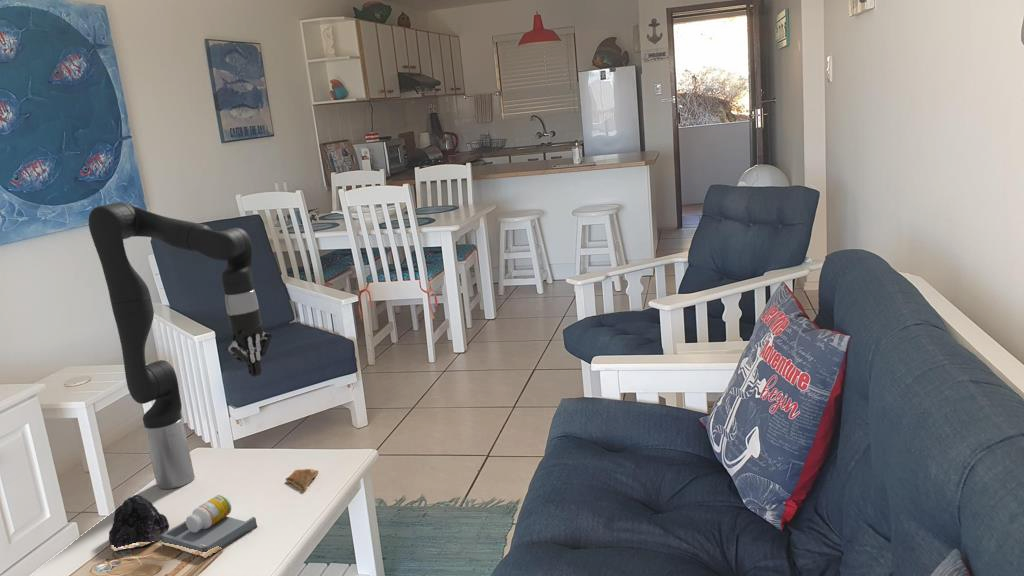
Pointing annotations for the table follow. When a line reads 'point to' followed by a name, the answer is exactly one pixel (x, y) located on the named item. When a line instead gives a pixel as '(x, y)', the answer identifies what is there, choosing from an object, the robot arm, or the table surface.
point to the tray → (209, 534)
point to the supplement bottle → (208, 513)
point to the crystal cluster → (137, 522)
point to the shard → (302, 478)
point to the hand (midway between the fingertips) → (255, 375)
